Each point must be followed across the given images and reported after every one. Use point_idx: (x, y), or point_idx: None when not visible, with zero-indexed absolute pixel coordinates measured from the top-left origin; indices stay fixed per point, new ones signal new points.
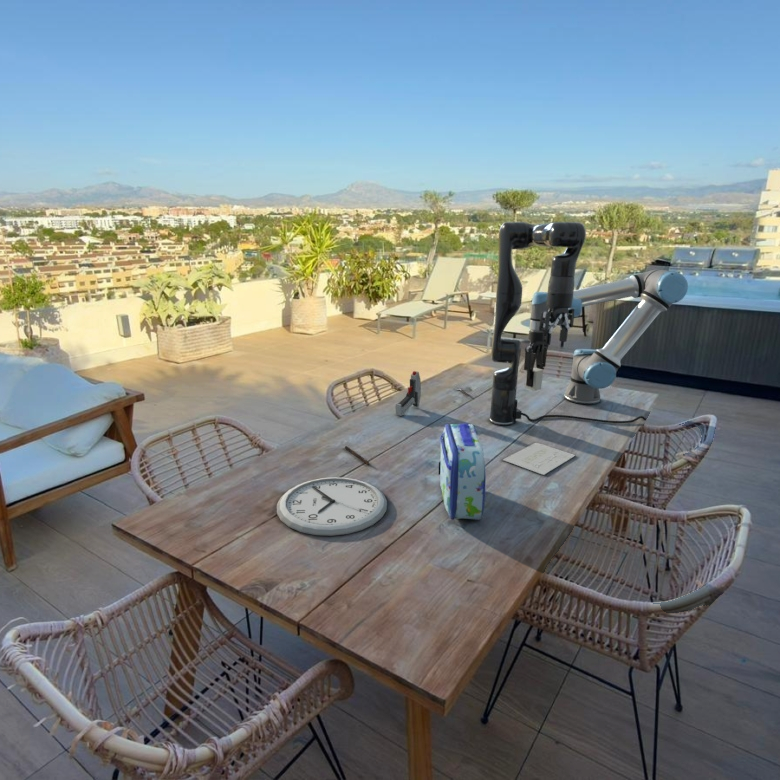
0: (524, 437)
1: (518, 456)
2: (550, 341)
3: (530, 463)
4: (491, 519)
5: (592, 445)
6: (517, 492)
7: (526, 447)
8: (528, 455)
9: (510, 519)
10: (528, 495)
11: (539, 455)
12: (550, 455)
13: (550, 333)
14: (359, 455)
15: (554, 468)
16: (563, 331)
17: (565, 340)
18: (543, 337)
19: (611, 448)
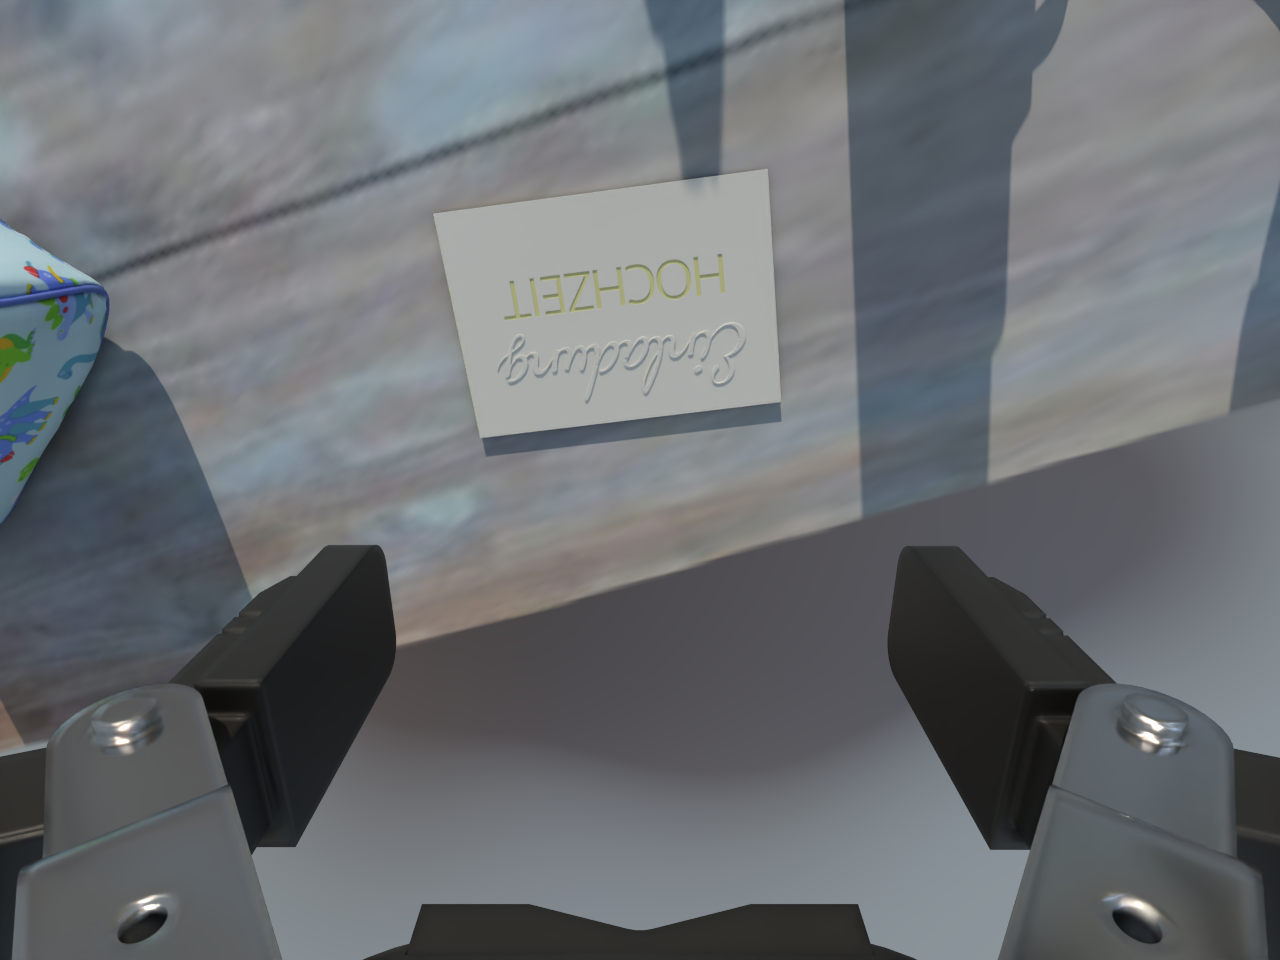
0: (792, 61)
1: (533, 239)
2: (372, 704)
3: (519, 330)
4: (57, 531)
5: (973, 374)
6: (275, 463)
7: (663, 185)
8: (586, 262)
9: (121, 567)
10: (298, 502)
11: (634, 297)
12: (678, 331)
13: (270, 836)
14: None
15: (576, 425)
16: (989, 746)
17: (897, 681)
18: (209, 648)
19: (1003, 449)
